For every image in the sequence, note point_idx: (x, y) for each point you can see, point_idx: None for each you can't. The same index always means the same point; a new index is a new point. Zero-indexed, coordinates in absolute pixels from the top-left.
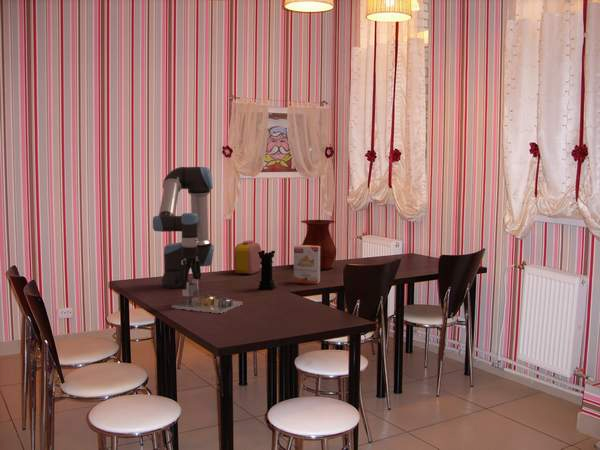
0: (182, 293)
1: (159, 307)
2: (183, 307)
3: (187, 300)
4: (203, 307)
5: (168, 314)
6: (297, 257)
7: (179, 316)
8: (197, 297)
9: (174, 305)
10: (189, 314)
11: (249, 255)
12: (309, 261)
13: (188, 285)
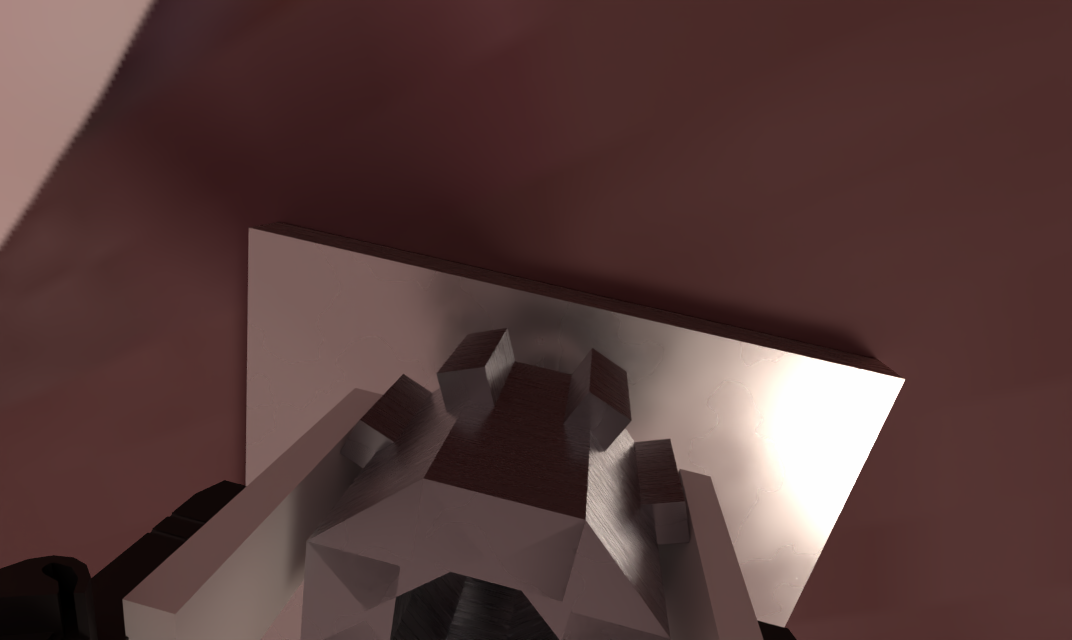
0: (459, 350)
1: (272, 3)
2: (256, 400)
3: (611, 340)
4: (289, 618)
5: (24, 302)
6: None
7: (19, 438)
8: (863, 421)
9: (251, 272)
10: (128, 503)
11: None
12: None
13: (314, 630)
